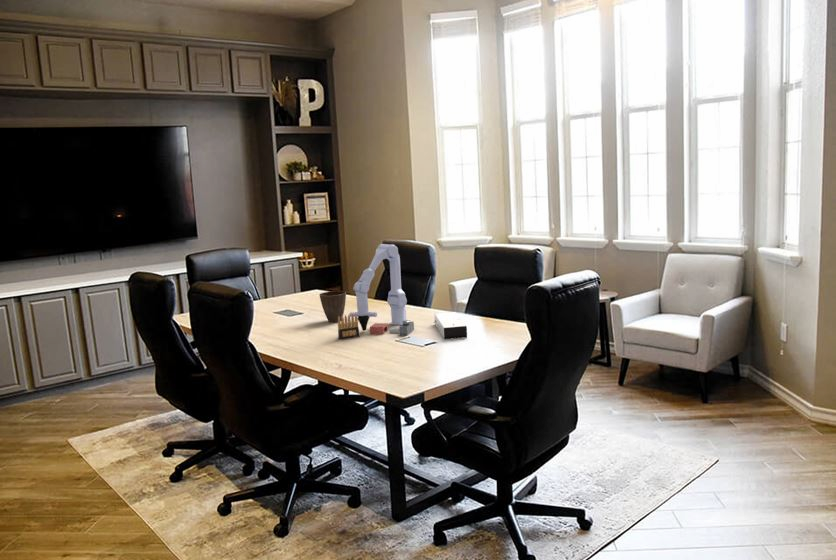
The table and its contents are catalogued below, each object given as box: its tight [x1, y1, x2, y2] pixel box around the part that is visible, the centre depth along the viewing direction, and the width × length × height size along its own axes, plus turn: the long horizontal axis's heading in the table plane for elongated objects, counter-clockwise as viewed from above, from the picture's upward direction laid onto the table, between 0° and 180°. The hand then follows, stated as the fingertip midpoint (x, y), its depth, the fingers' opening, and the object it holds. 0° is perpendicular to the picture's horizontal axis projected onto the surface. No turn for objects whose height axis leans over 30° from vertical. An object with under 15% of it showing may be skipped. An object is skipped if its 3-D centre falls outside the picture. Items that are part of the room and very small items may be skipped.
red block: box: [369, 322, 389, 335], centre depth 352 cm, size 8×7×4 cm
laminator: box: [433, 311, 468, 340], centre depth 346 cm, size 34×12×6 cm, turn 6°
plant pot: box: [319, 290, 347, 323], centre depth 384 cm, size 15×15×16 cm
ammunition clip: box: [337, 314, 361, 340], centre depth 343 cm, size 11×2×12 cm, turn 112°
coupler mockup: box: [388, 319, 415, 337], centre depth 349 cm, size 12×11×6 cm
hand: (364, 330), depth 354 cm, fingers closed
